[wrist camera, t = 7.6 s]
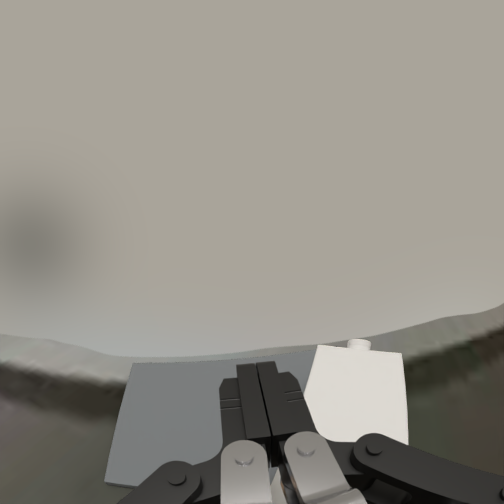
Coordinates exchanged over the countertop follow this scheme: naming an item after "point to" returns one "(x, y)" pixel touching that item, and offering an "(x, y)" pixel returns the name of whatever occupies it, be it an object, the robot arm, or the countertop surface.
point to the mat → (179, 414)
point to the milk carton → (354, 396)
